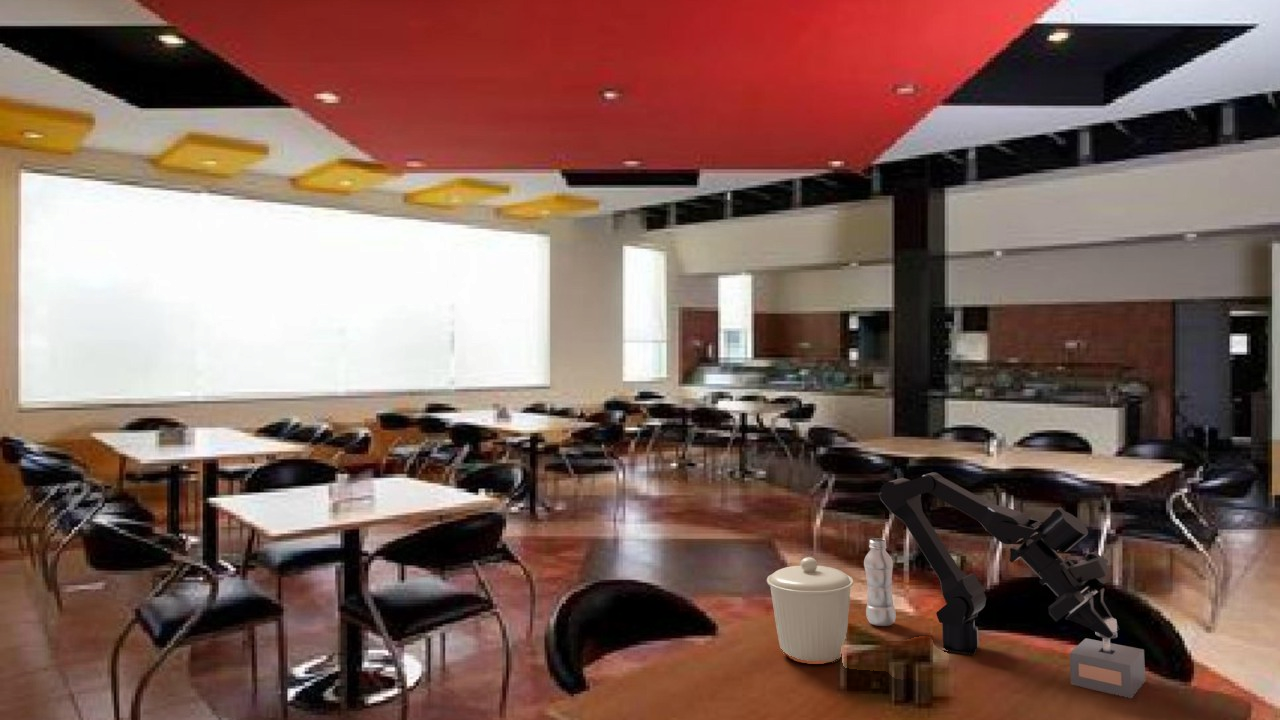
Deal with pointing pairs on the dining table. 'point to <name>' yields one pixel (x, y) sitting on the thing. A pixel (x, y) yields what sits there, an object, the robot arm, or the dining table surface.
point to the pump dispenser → (1107, 668)
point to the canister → (811, 610)
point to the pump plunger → (1113, 627)
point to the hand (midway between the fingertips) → (1114, 633)
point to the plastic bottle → (879, 584)
